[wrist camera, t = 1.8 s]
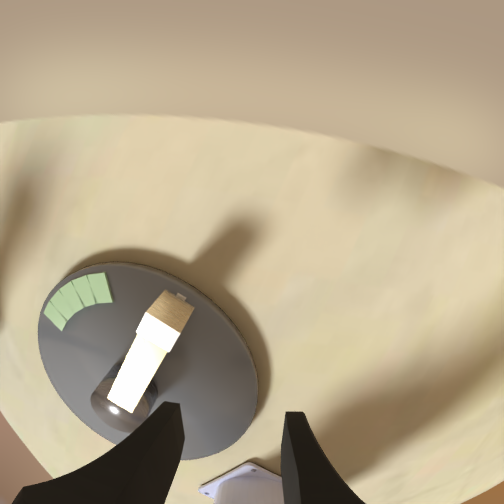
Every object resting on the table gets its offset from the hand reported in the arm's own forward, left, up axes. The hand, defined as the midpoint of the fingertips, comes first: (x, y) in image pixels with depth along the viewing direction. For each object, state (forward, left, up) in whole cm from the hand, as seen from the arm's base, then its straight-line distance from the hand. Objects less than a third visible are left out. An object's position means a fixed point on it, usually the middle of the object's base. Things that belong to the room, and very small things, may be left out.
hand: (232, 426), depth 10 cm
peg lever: (+3, +6, -8) cm, 11 cm away
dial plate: (+3, +10, -9) cm, 14 cm away
